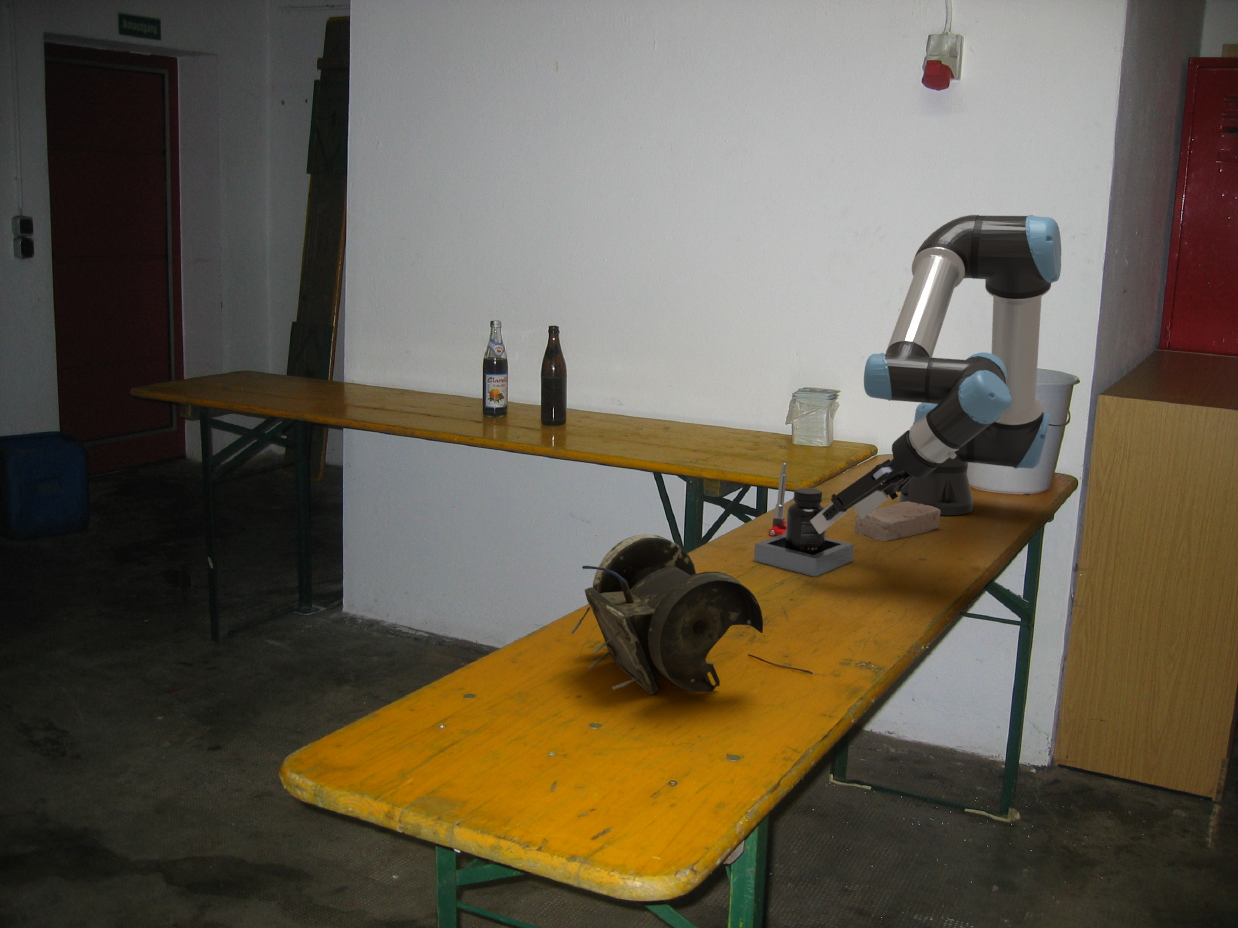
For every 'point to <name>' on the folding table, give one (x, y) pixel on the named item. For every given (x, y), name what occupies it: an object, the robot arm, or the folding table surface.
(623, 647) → the bench grinder
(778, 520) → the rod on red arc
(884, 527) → the brick
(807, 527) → the supplement bottle
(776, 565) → the keeper tray
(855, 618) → the folding table surface
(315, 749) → the folding table surface
